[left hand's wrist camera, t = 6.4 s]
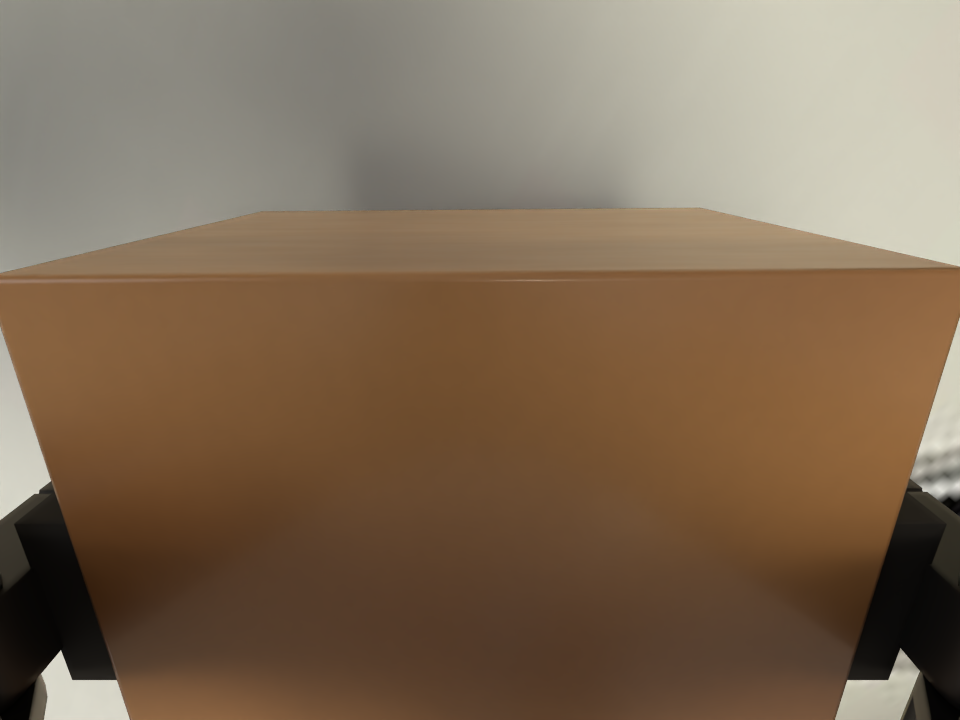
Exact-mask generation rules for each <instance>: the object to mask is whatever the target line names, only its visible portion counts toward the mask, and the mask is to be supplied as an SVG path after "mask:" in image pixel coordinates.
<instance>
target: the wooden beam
mask: <svg viewBox="0 0 960 720" xmlns="http://www.w3.org/2000/svg"><path fill="white" fill-rule="evenodd" d="M959 318H960V267H959V266H954V265H950V264H946V263H941V262H937V261H932V260H928V259H923V258H919V257H915V256H910V255H906V254H901V253H897V252H893V251H888V250H884V249H879V248H875V247H871V246H866V245H862V244H857V243H853V242H848V241H844V240H840V239H835V238H831V237H826V236H822V235H818V234H813V233H809V232H804V231H800V230H796V229H791V228H787V227H782V226H778V225H773V224H769V223H765V222H760V221H756V220H751V219H747V218H743V217H738V216H734V215H729V214H725V213H721V212H716V211H712V210H707V209H703V208H611V209H489V210H368V211H261V212H257V213H253V214H249V215H244V216H240V217H236V218H232V219H227V220H223V221H219V222H215V223H210V224H206V225H202V226H198V227H194V228H189V229H185V230H181V231H177V232H172V233H168V234H164V235H160V236H156V237H151V238H147V239H143V240H139V241H134V242H130V243H126V244H122V245H117V246H113V247H109V248H105V249H101V250H96V251H92V252H88V253H84V254H79V255H75V256H71V257H67V258H63V259H58V260H54V261H50V262H46V263H41V264H37V265H33V266H29V267H24V268H20V269H16V270H12V271H8V272H3V273H0V327H1V330H2V333H3V336H4V339H5V342H6V345H7V348H8V351H9V354H10V357H11V360H12V363H13V366H14V369H15V372H16V375H17V378H18V381H19V384H20V387H21V390H22V393H23V396H24V399H25V402H26V405H27V408H28V412H29V415H30V418H31V421H32V424H33V427H34V430H35V433H36V436H37V439H38V442H39V445H40V448H41V451H42V454H43V457H44V460H45V463H46V466H47V469H48V472H49V475H50V478H51V481H52V484H53V487H54V490H55V493H56V496H57V499H58V502H59V505H60V509H61V512H62V515H63V518H64V521H65V524H66V527H67V530H68V533H69V536H70V539H71V542H72V545H73V548H74V551H75V554H76V557H77V560H78V563H79V566H80V569H81V572H82V575H83V578H84V581H85V584H86V587H87V590H88V593H89V596H90V599H91V602H92V606H93V609H94V612H95V615H96V618H97V621H98V624H99V627H100V630H101V633H102V636H103V639H104V642H105V645H106V648H107V651H108V654H109V657H110V660H111V663H112V666H113V669H114V672H115V675H116V678H117V681H118V684H119V687H120V690H121V693H122V696H123V700H124V703H125V706H126V709H127V712H128V715H129V718H130V720H835V717H836V714H837V711H838V708H839V704H840V701H841V698H842V695H843V692H844V688H845V685H846V682H847V679H848V675H849V672H850V669H851V666H852V663H853V659H854V656H855V653H856V650H857V646H858V643H859V640H860V637H861V634H862V630H863V627H864V624H865V621H866V617H867V614H868V611H869V608H870V605H871V601H872V598H873V595H874V592H875V588H876V585H877V582H878V579H879V576H880V572H881V569H882V566H883V563H884V559H885V556H886V553H887V550H888V547H889V543H890V540H891V537H892V534H893V530H894V527H895V524H896V521H897V517H898V514H899V511H900V508H901V505H902V501H903V498H904V495H905V492H906V488H907V485H908V482H909V479H910V476H911V472H912V469H913V466H914V463H915V459H916V456H917V453H918V450H919V447H920V443H921V440H922V437H923V434H924V430H925V427H926V424H927V421H928V418H929V414H930V411H931V408H932V405H933V401H934V398H935V395H936V392H937V389H938V385H939V382H940V379H941V376H942V372H943V369H944V366H945V363H946V360H947V356H948V353H949V350H950V347H951V343H952V340H953V337H954V334H955V331H956V327H957V324H958V321H959Z"/></svg>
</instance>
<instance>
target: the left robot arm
mask: <svg viewBox="0 0 960 720" xmlns="http://www.w3.org/2000/svg"><path fill="white" fill-rule="evenodd" d="M900 648H901V649H902V650H903V651H904V652H905V654H906V655H907V656H908V657H909V658H910V660H911V661H912V662H913V663H914V664H915V665H916V667H917V668H918V669H919V670H920V673H919V675H918V678H917V680H916V683H915V685H914V688H913V690H912V693H911V695H910V698H909V700H908V703H907V705H906V708H905V710H904V712H903V715H902V717H901V720H960V517H959V516H958V515H956V514H955V513H954V512H953V511H951V510H950V509H949V508H947V507H946V506H945V505H943V504H942V503H941V502H939V501H938V500H937V499H936V498H934V497H933V496H932V495H930V494H929V493H928V492H923V491H922V488H921V487H920V486H919V485H917V484H916V483H915V482H913V481H912V480H911V479H909V482H908V485H907V488H906V492H905V495H904V498H903V501H902V505H901V508H900V511H899V514H898V517H897V521H896V524H895V527H894V530H893V534H892V537H891V540H890V543H889V547H888V550H887V553H886V556H885V559H884V563H883V566H882V569H881V572H880V576H879V579H878V582H877V585H876V588H875V592H874V595H873V598H872V601H871V605H870V608H869V611H868V614H867V617H866V621H865V624H864V627H863V630H862V634H861V637H860V640H859V643H858V646H857V650H856V653H855V656H854V659H853V663H852V666H851V669H850V672H849V675H848V679H847V680H888V679H889V676H890V674H891V671H892V669H893V666H894V663H895V661H896V658H897V655H898V653H899V650H900ZM60 650H61V651H62V654H63V656H64V659H65V662H66V664H67V667H68V669H69V672H70V675H71V677H72V680H117V678H116V675H115V672H114V669H113V666H112V663H111V660H110V657H109V654H108V651H107V648H106V645H105V642H104V639H103V636H102V633H101V630H100V627H99V624H98V621H97V618H96V615H95V612H94V609H93V606H92V602H91V599H90V596H89V593H88V590H87V587H86V584H85V581H84V578H83V575H82V572H81V569H80V566H79V563H78V560H77V557H76V554H75V551H74V548H73V545H72V542H71V539H70V536H69V533H68V530H67V527H66V524H65V521H64V518H63V515H62V512H61V509H60V505H59V502H58V499H57V496H56V493H55V490H54V487H53V484H52V481H51V482H49V483H48V484H47V485H46V486H44V487H43V488H42V489H40V490H39V494H34V495H33V496H31V497H30V498H29V499H27V500H26V501H25V502H23V503H22V504H21V505H20V506H18V507H17V508H16V509H14V510H13V511H12V512H11V513H9V514H8V515H7V516H5V517H4V518H3V519H1V520H0V720H44V715H45V709H46V703H47V691H46V685H45V683H44V680H43V678H42V675H41V673H42V672H43V671H44V669H45V668H46V667H47V666H48V665H49V663H50V662H51V661H52V660H53V659H54V657H55V656H56V655H57V654H58V653H59V652H60Z"/></svg>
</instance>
